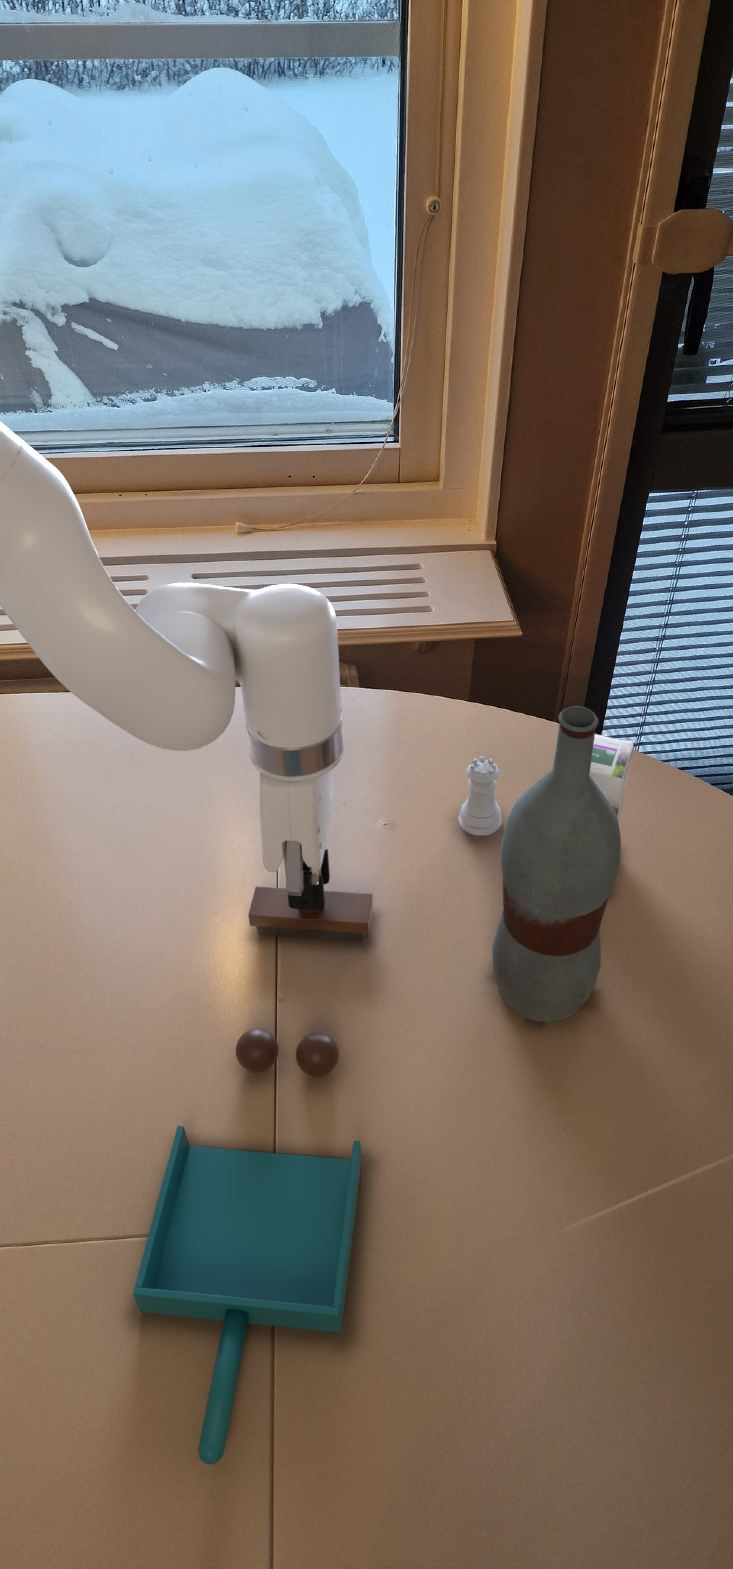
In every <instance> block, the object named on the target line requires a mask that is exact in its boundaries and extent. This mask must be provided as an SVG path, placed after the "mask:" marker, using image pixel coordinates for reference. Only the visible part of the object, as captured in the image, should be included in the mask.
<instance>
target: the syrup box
mask: <svg viewBox="0 0 733 1569" xmlns="http://www.w3.org/2000/svg"><path fill="white" fill-rule="evenodd" d="M634 748H635V740H622V739H618V738H614V737H612V736H611V737H610V736H607V735H603V734H598V733H595V736H594V743H593V751H592V759H591V767H590V774H589V775H590V776H591V778H592V779H593V780H594V782H595V783H596V785H597V786H598V787H599V789H600V790H601V791H602V793H603V794H604V796H605V797H606V798H607V800H608V801H609V803H610V804H611V806H612V807H613V809H614V811H615V812H616V814H617V818H618V823H619V824H620V823H621V817H622V812H623V806H624V801H625V795H626V791H627V790H626V789H627V784H628V779H629V772H630V769H631V762H632V758H633V757H632V756H633V752H634Z"/></svg>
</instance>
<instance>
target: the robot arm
mask: <svg viewBox="0 0 733 1569" xmlns="http://www.w3.org/2000/svg"><path fill="white" fill-rule="evenodd" d="M0 607H1V609H2V611H3V613H4V614H5V616H7V617H8V619H9V620H10V622H11V623H12V625H13V626H14V627H15V629H16V630H17V631H18V632H19V633H20V635H21V636H22V637H23V639H24V640H25V641H26V643H27V645H29V648H31V650H32V651H33V652H34V654H35V655H36V656H37V658H38V659H39V660H40V661H41V662H42V664H43V666H45V667H46V668H47V670H48V671H49V672H50V673H51V674H52V676H54V677H55V679H57V681H58V682H59V683H60V684H61V685H62V686H64V688H66V689H67V690H68V691H69V692H70V693H71V694H72V695H74V696H75V697H76V698H77V699H78V700H80V701H81V702H83V703H84V704H85V705H87V706H88V707H89V708H91V709H92V710H94V711H95V712H97V714H99V715H101V716H102V717H104V718H105V719H106V720H108V721H109V722H111V723H112V724H114V725H115V726H117V727H118V728H119V729H121V730H122V731H124V732H126V733H127V734H129V735H131V736H132V737H134V738H136V739H138V740H140V741H142V742H144V743H146V744H147V745H150V746H153V747H156V748H160V749H161V750H167V751H172V752H173V751H175V752H190V751H194V750H199V749H202V748H204V747H207V746H209V745H210V744H212V743H214V742H215V741H217V739H218V738H220V737H221V736H222V735H223V733H224V732H225V731H226V729H227V728H228V726H229V725H230V723H231V720H232V719H233V718H232V717H233V714H234V712H235V711H234V710H235V707H236V681H237V682H238V683H239V686H240V692H241V700H242V707H243V708H242V709H243V715H244V722H245V731H246V739H247V745H248V752H249V753H248V754H249V759H250V762H251V764H252V766H253V767H254V768H255V769H256V770H257V771H258V772H259V788H258V789H259V792H258V794H259V795H258V797H259V798H258V800H259V802H258V803H259V821H260V822H259V823H260V824H259V825H260V837H261V838H260V839H261V840H260V841H261V851H262V864H263V867H264V869H265V871H267V872H269V873H271V872H272V873H277V872H278V870H279V868H280V867H281V864H282V862H283V864H284V874H285V888H286V895H288V902H289V907H290V908H293V909H306V910H323V909H324V906H325V897H324V891H325V885H327V884H329V883H330V878H331V876H330V875H331V874H330V873H331V872H330V861H329V849H327V848H326V847H327V842H328V836H329V833H330V832H329V831H330V827H331V826H330V825H331V819H332V814H333V808H334V801H335V800H334V799H335V776H334V769H335V768H336V767H337V765H338V764H339V763H340V761H341V760H342V759H343V756H344V751H345V750H344V732H343V712H342V695H341V694H342V693H341V677H340V674H341V673H340V654H339V653H340V652H339V637H338V621H337V615H336V611H335V608H334V607H333V604H332V603H331V601H330V600H329V599H328V598H327V597H326V596H325V595H324V594H322V592H321V591H319V590H316V589H314V588H312V587H309V586H306V585H301V584H294V583H279V584H273V585H268V586H265V587H261V588H259V589H248V588H247V589H246V588H235V587H227V586H219V585H213V584H212V585H211V584H206V583H205V584H204V583H195V582H175V583H173V582H172V583H167V584H162V585H160V586H157V587H155V588H153V589H152V590H150V591H148V592H147V593H146V594H145V595H144V596H143V597H142V598H141V599H140V601H139V603H138V604H137V606H136V608H135V609H134V607H133V606H132V605H131V603H130V602H129V601H128V600H127V599H126V598H125V597H124V595H123V594H122V592H121V590H119V588H118V586H117V585H116V584H115V583H114V581H113V579H112V578H111V576H110V574H109V573H108V572H107V569H106V568H105V566H104V564H103V562H102V560H101V558H100V556H99V554H98V551H97V549H96V547H95V545H94V542H93V540H92V536H91V534H90V531H89V529H88V525H87V523H86V520H85V517H84V514H83V512H82V509H81V507H80V504H79V502H78V500H77V498H76V496H75V494H74V492H73V490H72V487H71V486H70V485H69V482H68V481H67V480H66V478H65V477H64V475H63V474H62V473H61V472H60V470H59V469H58V468H57V467H56V466H54V465H53V464H52V463H51V462H49V461H48V460H47V459H46V458H44V456H42V455H41V454H40V453H39V452H37V451H36V449H34V448H33V447H31V445H29V444H28V443H27V442H26V441H24V440H23V439H22V438H21V437H19V436H18V435H17V434H16V433H15V432H13V431H12V430H11V429H10V428H9V427H8V426H6V425H5V424H4V423H3V422H2V421H0ZM303 865H307V866H308V867H310V870H309V871H306V870H303ZM320 869H321V873H322V876H321V875H319V870H320Z"/></svg>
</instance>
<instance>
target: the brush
mask: <svg viewBox="0 0 733 1569" xmlns="http://www.w3.org/2000/svg"><path fill="white" fill-rule="evenodd" d="M303 870H306V871H309V870H310V867H308V866H307V865H303ZM319 875H321V876H322V873H321V869H320V870H319ZM324 897H325V906H324V909H323V910H306V909H293V908H290V907H289V902H288V895H286V887H274V886H273V887H272V886H271V887H270V886H255V887H254V892H253V896H252V900H251V904H250V908H249V910H248V911H249V912H248V921H249V926H250V927H256V934H257V935H263V936H264V935H265V936H279V937H291V938H292V937H293V938H310V939H322V940H337V941H338V940H339V941H352V942H354V941H355V942H365V939H366V938H365V936H366V934H367V935H368V934H369V933H370V926H371V920H372V913H373V906H374V905H373V904H374V901H373V899H374V898H373V893H367V892H353V891H352V892H350V891H338V890H337V891H334V890H324Z"/></svg>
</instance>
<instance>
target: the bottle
mask: <svg viewBox="0 0 733 1569" xmlns="http://www.w3.org/2000/svg"><path fill="white" fill-rule="evenodd" d="M558 722H559V725H558V732H557V738H556V746H555V753H554V759H553V767H552V769H550V771H549V772H547V773H546V774H545V775H544V776H543V777H541V778H540V779H539V780H537V781H536V782H535V783H534V784H533V785H531V786H530V787H529V788H528V789H527V790H525V791H524V792H523V793H522V794H521V795H520V796H519V797H517V798H516V800H515V802H514V804H513V806H512V809H511V811H510V813H509V815H508V818H507V819H506V822H505V827H504V830H503V834H502V837H501V842H500V860H501V873H502V874H501V875H502V912H501V915H500V918H499V921H498V924H497V927H496V931H495V935H494V939H493V941H492V942H493V943H492V946H491V947H492V966H493V977H494V981H495V984H496V986H497V989H498V991H499V994H500V997H501V998H502V1000H503V1001H504V1003H505V1004H506V1005H507V1006H508V1007H509V1009H510V1010H512V1011H514V1012H515V1013H516V1014H518V1015H520V1016H521V1017H523V1018H526V1019H529V1020H532V1021H534V1022H541V1023H542V1022H544V1023H545V1022H546V1023H554V1022H558V1021H563V1020H566V1019H568V1018H569V1017H571V1016H574V1015H575V1014H576V1013H578V1012H579V1010H580V1009H581V1008H582V1007H583V1005H584V1004H585V1003H586V1002H587V1000H588V999H589V998H590V996H591V994H592V992H593V990H594V986H595V984H596V982H597V979H598V976H599V972H600V969H601V965H602V962H601V961H602V959H601V958H602V952H601V951H602V941H601V924H602V921H603V917H604V915H605V912H606V907H607V905H608V901H609V898H610V895H611V892H612V890H613V886H614V884H615V882H616V880H617V877H618V873H619V869H620V866H621V860H622V859H621V856H622V854H621V853H622V837H621V831H620V829H621V828H620V823H618V818H617V814H616V812H615V811H614V809H613V807H612V806H611V804H610V803H609V801H608V800H607V798H606V797H605V796H604V794H603V793H602V791H601V790H600V789H599V787H598V786H597V785H596V783H595V782H594V780H593V779H592V778H591V776H590V775H589V774H590V767H591V759H592V751H593V743H594V736H595V734H596V728H597V727H598V726H599V718H598V717H597V715H596V714H595V712H594V711H593V710H591V709H590V708H589V707H586V706H582V705H571V706H568V707H565V708H564V709H563V710H561V711H560V712H559V714H558Z"/></svg>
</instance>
